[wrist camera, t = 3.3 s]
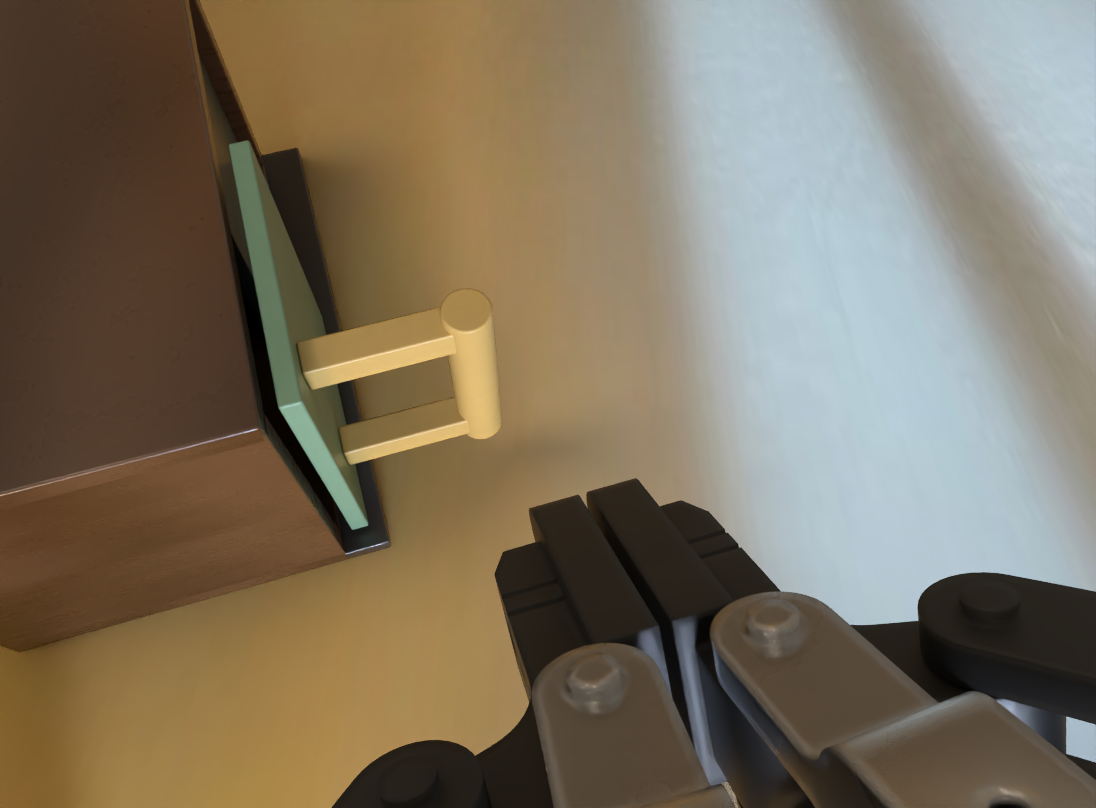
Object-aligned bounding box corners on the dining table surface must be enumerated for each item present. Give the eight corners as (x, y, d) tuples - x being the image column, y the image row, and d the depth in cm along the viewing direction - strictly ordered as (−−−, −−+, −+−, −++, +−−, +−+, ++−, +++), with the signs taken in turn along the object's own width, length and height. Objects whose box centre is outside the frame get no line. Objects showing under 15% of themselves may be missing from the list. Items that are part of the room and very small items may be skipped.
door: (351, 530, 30) (277, 408, 22) (306, 320, 34) (227, 143, 25) (517, 484, 31) (509, 349, 23) (456, 283, 35) (429, 99, 26)
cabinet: (18, 652, 30) (-245, 558, 20) (-3, 223, 37) (-201, -3, 27) (391, 547, 31) (324, 412, 21) (300, 156, 39) (219, -79, 29)
